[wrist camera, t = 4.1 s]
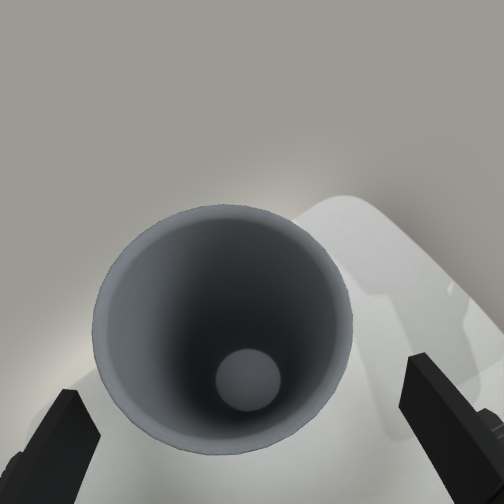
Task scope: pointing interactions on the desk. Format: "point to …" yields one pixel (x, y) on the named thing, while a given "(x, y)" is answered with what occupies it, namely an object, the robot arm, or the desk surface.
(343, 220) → the desk surface
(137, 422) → the cup
